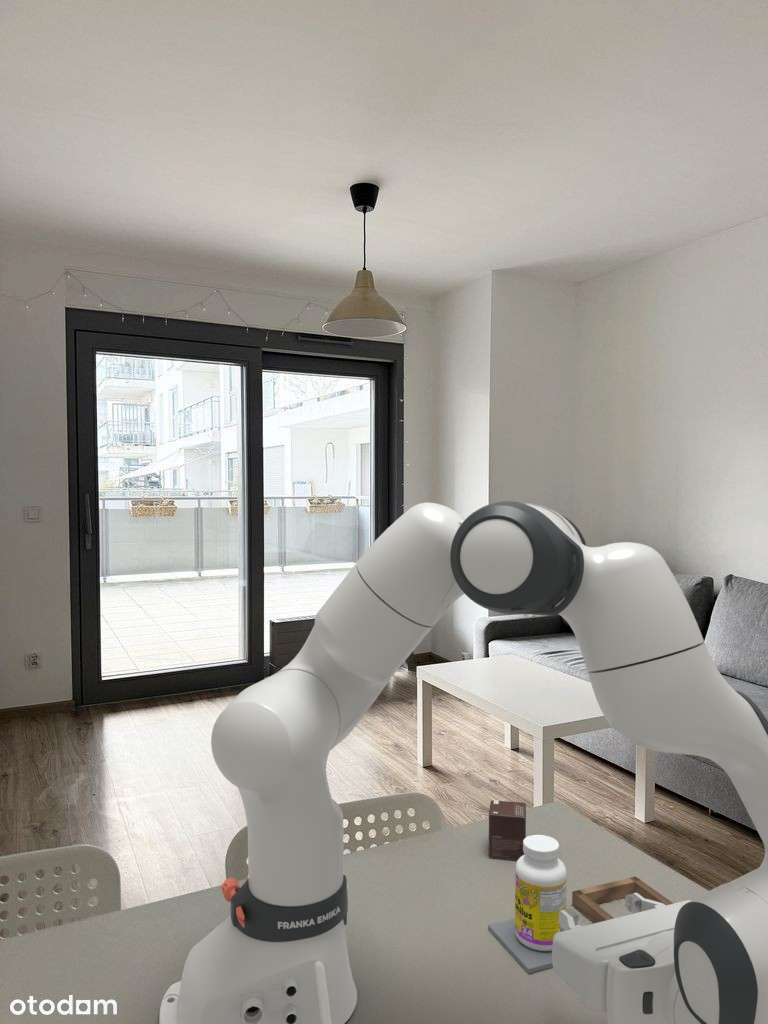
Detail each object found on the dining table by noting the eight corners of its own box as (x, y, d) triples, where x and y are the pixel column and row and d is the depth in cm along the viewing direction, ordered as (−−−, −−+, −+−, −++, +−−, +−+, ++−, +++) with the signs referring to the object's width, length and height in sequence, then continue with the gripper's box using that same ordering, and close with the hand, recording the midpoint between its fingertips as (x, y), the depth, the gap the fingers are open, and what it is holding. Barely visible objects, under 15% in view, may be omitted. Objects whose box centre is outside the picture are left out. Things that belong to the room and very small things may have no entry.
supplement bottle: (507, 926, 99) (508, 832, 99) (553, 920, 100) (554, 828, 100) (526, 956, 93) (526, 856, 92) (574, 950, 94) (575, 852, 94)
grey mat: (528, 973, 90) (528, 969, 90) (488, 929, 99) (488, 924, 99) (595, 955, 94) (595, 950, 94) (549, 913, 103) (550, 909, 103)
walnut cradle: (619, 945, 96) (619, 930, 96) (572, 905, 105) (572, 891, 105) (686, 926, 100) (686, 912, 100) (635, 889, 110) (635, 876, 110)
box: (525, 862, 118) (525, 817, 118) (488, 858, 119) (488, 814, 119) (526, 844, 124) (526, 802, 124) (490, 841, 125) (490, 799, 125)
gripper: (764, 928, 76) (667, 865, 89) (604, 973, 69) (524, 897, 81) (762, 987, 76) (666, 915, 89) (603, 1039, 69) (523, 952, 82)
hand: (597, 907), depth 85 cm, fingers open, 8 cm apart
